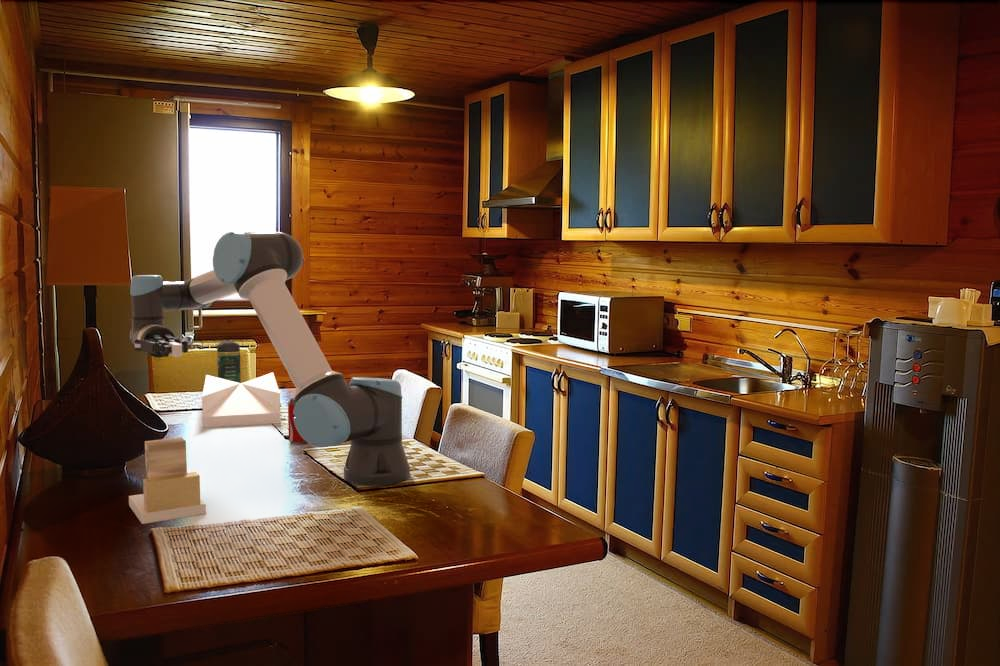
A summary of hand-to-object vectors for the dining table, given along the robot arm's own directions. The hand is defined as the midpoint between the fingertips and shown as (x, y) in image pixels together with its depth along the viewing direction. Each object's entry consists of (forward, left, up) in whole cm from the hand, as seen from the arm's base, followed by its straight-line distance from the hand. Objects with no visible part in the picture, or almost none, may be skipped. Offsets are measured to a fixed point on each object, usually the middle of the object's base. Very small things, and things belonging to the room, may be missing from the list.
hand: (178, 351), depth 192 cm
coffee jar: (+80, -95, -30) cm, 128 cm away
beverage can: (+4, -44, -30) cm, 53 cm away
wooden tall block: (-12, +16, -28) cm, 34 cm away
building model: (+50, -70, -31) cm, 91 cm away
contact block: (-17, +18, -28) cm, 37 cm away
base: (-12, +15, -30) cm, 36 cm away
